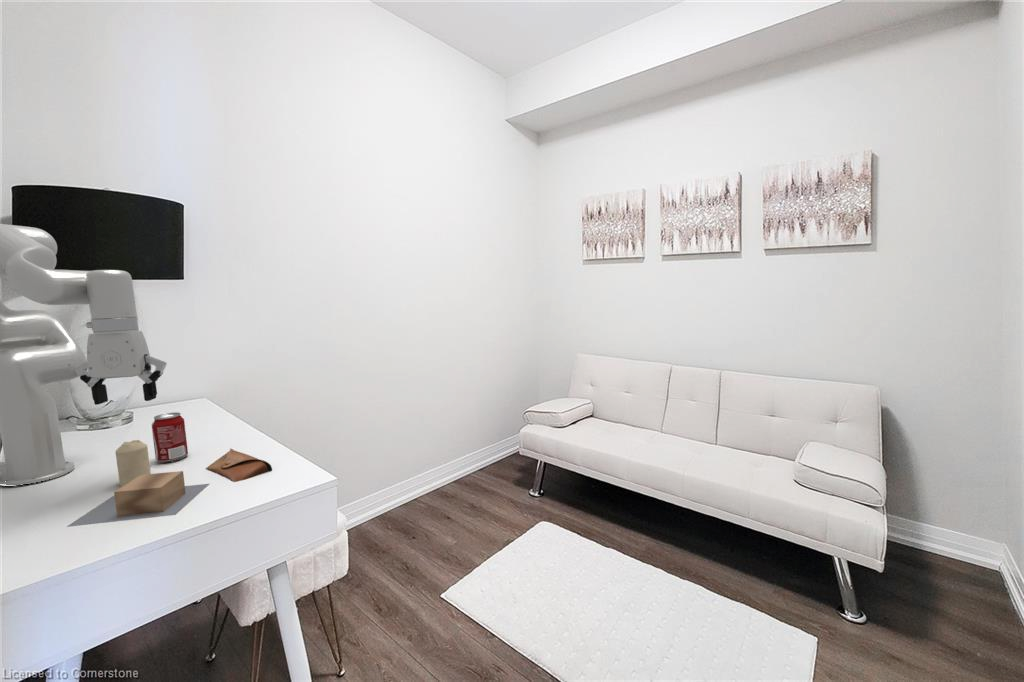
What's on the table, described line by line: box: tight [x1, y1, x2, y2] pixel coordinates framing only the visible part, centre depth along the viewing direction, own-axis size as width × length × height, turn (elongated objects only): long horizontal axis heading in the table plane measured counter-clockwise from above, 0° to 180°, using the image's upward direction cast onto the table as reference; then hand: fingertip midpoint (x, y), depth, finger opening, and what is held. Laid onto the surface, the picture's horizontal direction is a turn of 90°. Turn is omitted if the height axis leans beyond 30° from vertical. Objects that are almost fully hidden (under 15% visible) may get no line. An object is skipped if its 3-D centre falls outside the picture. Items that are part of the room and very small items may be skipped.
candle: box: [115, 439, 152, 487], centre depth 100 cm, size 6×6×10 cm
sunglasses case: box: [205, 448, 273, 483], centre depth 106 cm, size 18×7×7 cm, turn 59°
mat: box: [66, 483, 210, 527], centre depth 90 cm, size 18×14×1 cm
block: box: [113, 470, 186, 516], centre depth 89 cm, size 8×8×5 cm
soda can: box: [151, 411, 189, 464], centre depth 114 cm, size 7×7×12 cm
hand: (126, 401), depth 98 cm, fingers open, 9 cm apart
